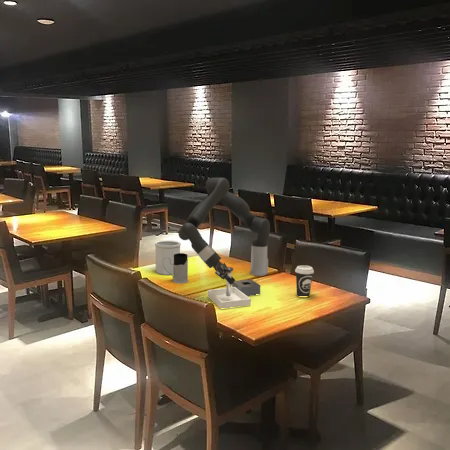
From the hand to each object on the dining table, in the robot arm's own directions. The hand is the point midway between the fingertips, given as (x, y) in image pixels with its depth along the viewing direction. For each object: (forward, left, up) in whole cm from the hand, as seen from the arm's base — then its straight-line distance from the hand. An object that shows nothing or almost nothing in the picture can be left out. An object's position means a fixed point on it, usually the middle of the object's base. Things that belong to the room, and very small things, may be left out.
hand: (233, 282), depth 244 cm
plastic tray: (+2, -1, -10) cm, 10 cm away
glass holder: (+17, -40, -10) cm, 45 cm away
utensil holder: (+16, -59, -10) cm, 62 cm away
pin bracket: (-12, -10, -10) cm, 18 cm away
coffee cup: (-38, +4, -10) cm, 39 cm away
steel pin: (+2, -1, -7) cm, 7 cm away
